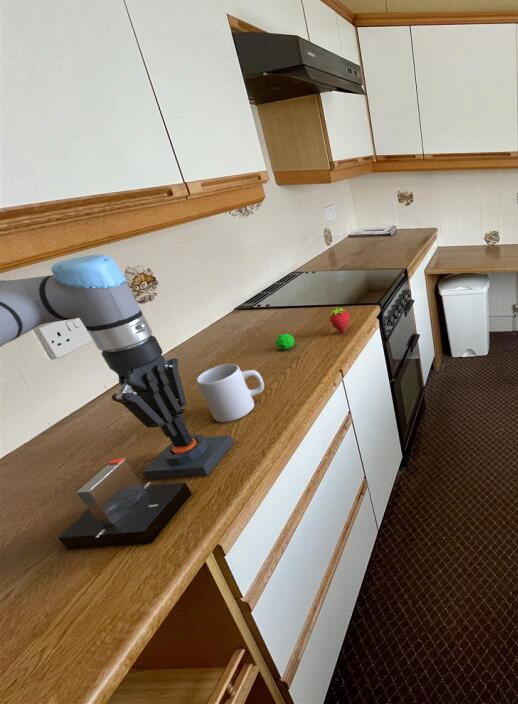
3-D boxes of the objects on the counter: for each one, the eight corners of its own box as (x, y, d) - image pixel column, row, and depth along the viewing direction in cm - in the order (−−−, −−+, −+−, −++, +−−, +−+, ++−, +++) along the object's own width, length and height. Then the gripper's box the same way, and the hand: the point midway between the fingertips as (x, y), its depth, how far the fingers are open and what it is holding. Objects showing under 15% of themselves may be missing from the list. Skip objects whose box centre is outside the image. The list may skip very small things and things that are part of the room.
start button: (170, 459, 81) (166, 452, 81) (184, 445, 85) (180, 438, 84) (190, 457, 81) (187, 451, 81) (203, 443, 85) (200, 437, 84)
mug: (213, 427, 94) (194, 388, 89) (215, 409, 100) (197, 371, 95) (271, 407, 99) (256, 369, 94) (269, 391, 106) (254, 355, 101)
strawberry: (354, 326, 138) (347, 299, 134) (352, 336, 131) (344, 307, 127) (335, 329, 137) (328, 302, 132) (332, 339, 130) (324, 311, 126)
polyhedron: (299, 346, 127) (294, 333, 125) (284, 353, 123) (279, 340, 121) (290, 343, 130) (286, 329, 128) (275, 350, 126) (270, 336, 124)
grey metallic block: (113, 525, 67) (87, 490, 64) (101, 526, 67) (75, 491, 64) (146, 491, 74) (124, 457, 70) (135, 492, 74) (113, 458, 70)
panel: (63, 553, 67) (52, 540, 65) (120, 496, 77) (112, 484, 75) (148, 546, 67) (139, 534, 65) (194, 491, 77) (187, 479, 75)
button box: (146, 479, 80) (137, 464, 78) (178, 447, 88) (171, 432, 87) (207, 475, 80) (199, 460, 79) (234, 443, 88) (227, 428, 87)
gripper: (118, 360, 66) (180, 466, 76) (174, 324, 78) (222, 421, 88) (72, 363, 66) (140, 469, 76) (135, 327, 78) (187, 423, 88)
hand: (184, 443), depth 82 cm, fingers closed
